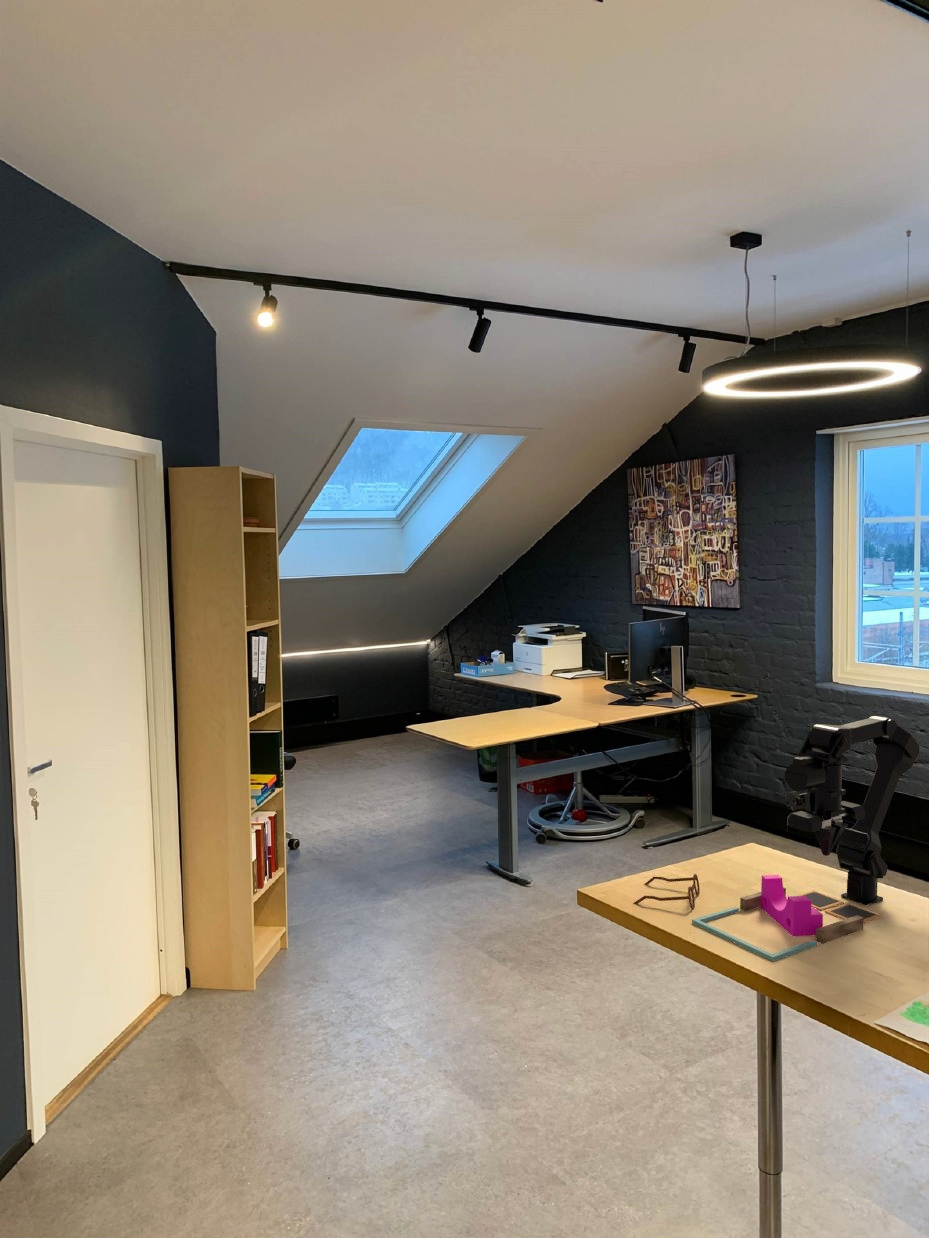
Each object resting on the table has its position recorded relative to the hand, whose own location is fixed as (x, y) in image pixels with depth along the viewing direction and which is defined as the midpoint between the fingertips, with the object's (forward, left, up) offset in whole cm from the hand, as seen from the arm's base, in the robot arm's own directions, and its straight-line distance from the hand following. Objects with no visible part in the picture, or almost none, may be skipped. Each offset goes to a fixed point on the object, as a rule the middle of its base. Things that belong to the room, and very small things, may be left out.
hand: (825, 855), depth 194 cm
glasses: (+23, -24, -13) cm, 36 cm away
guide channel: (+8, 0, -12) cm, 15 cm away
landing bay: (+22, 0, -12) cm, 25 cm away
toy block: (+11, 0, -13) cm, 17 cm away
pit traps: (-3, 0, -12) cm, 13 cm away
